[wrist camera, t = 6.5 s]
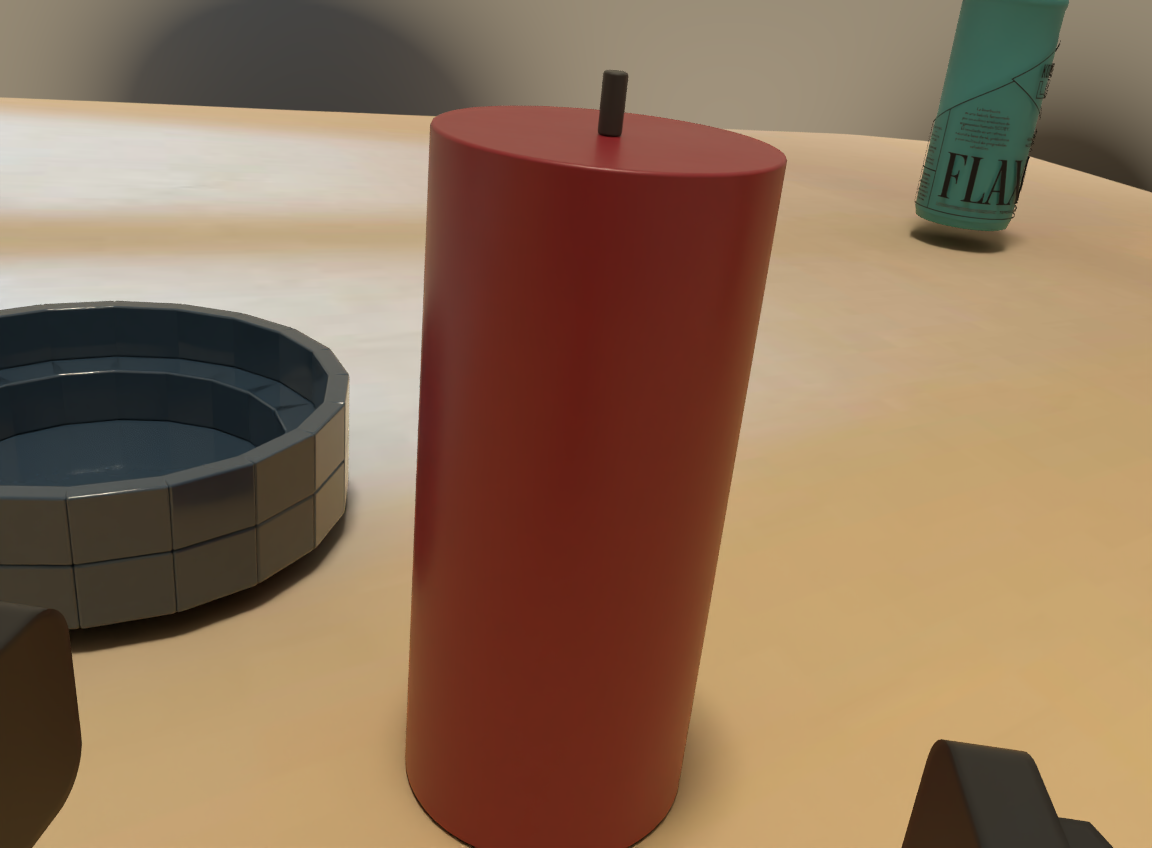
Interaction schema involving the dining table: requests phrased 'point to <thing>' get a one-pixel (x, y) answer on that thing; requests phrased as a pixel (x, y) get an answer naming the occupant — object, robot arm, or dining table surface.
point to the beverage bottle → (989, 112)
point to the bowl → (161, 455)
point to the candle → (575, 457)
